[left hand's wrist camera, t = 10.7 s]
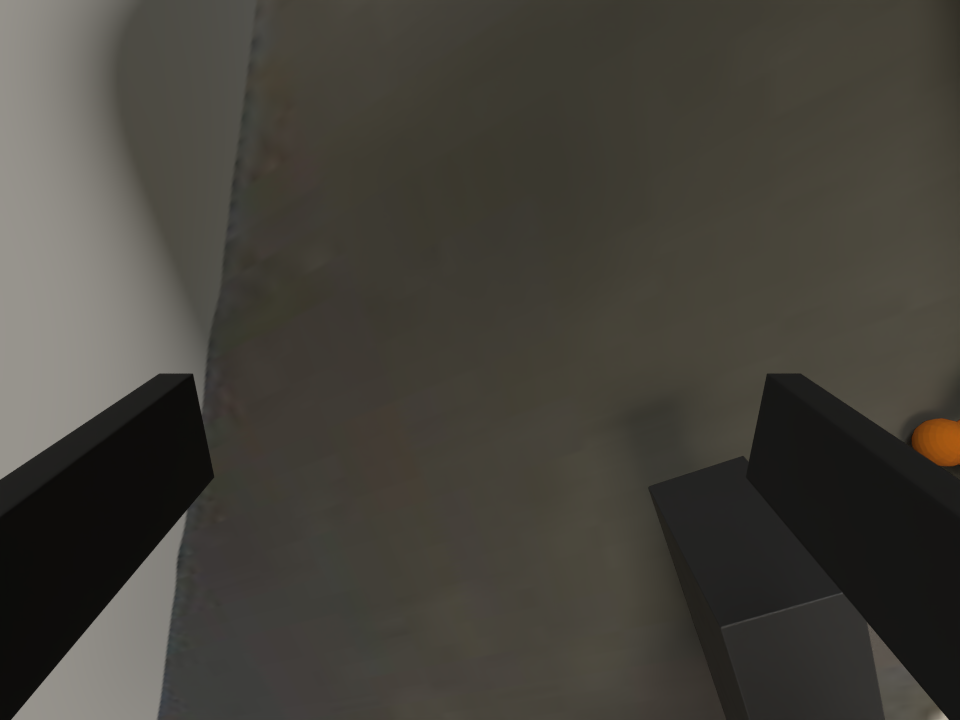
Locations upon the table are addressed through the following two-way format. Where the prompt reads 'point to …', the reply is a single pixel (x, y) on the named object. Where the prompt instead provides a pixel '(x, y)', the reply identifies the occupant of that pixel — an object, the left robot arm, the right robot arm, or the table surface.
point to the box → (764, 604)
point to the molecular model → (938, 441)
